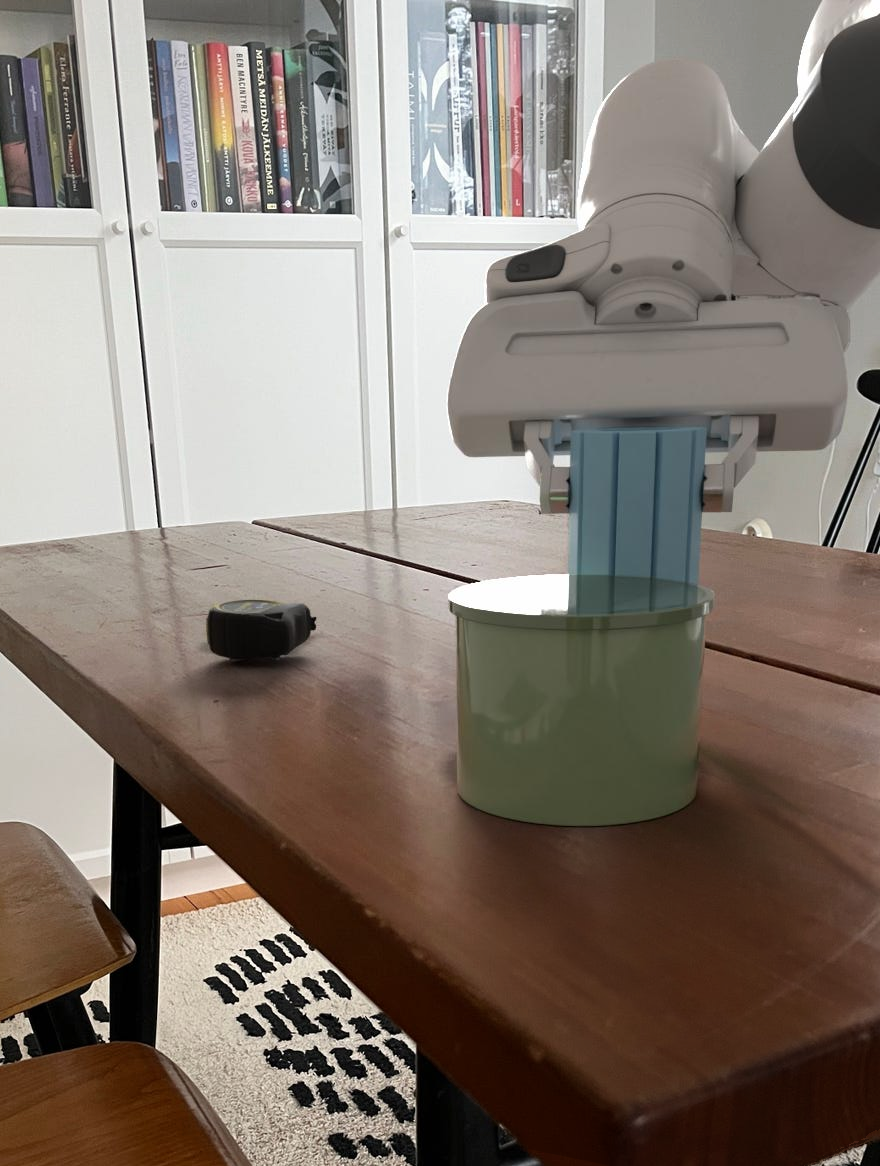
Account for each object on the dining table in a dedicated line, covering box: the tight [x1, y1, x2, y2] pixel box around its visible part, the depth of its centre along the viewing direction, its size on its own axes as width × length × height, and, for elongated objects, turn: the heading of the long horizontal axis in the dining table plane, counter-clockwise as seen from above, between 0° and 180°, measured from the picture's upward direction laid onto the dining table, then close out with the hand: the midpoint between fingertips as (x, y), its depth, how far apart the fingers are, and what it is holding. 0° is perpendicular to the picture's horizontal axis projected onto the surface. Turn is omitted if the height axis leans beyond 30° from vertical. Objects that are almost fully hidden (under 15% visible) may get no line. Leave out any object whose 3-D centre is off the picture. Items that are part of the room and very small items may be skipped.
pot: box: [447, 573, 716, 827], centre depth 60 cm, size 20×12×11 cm, turn 158°
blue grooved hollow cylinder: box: [567, 426, 707, 585], centre depth 64 cm, size 6×7×8 cm
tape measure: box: [205, 599, 317, 663], centre depth 88 cm, size 7×7×4 cm
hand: (634, 505), depth 63 cm, fingers closed on blue grooved hollow cylinder, 7 cm apart
